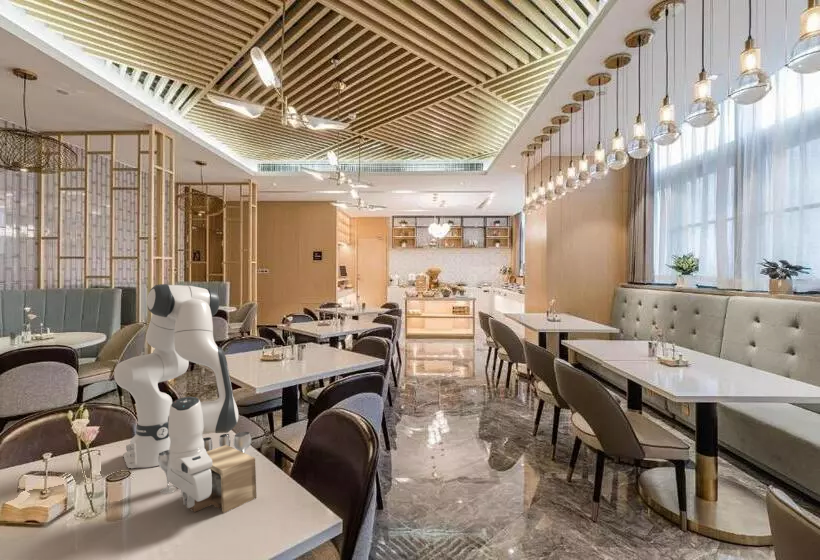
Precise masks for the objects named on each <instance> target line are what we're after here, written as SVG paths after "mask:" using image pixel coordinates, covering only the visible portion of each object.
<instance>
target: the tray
mask: <svg viewBox="0 0 820 560" xmlns="http://www.w3.org/2000/svg"><path fill="white" fill-rule="evenodd" d="M211 474H212V492H211V495H210V497H208V498H206V499H204V500H202V501H199V502H198V501H196V500H194V501H195V505H194V506H193V507H191V508H189V510H190V511H192V512H194V513H196V512H199V511H201V510H203V509H205V507H206V508H207V507H210V506H213V505H214V506H213V507H215V508H216V509H219V510H220V509H222V498H221V475H220V474H218V473H216V472H213V473H211Z"/></svg>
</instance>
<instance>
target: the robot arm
mask: <svg viewBox="0 0 820 560" xmlns="http://www.w3.org/2000/svg"><path fill="white" fill-rule="evenodd" d="M220 303H221V302H220V296H219V293H218V292H217V291H216V290H213V289H211V288H207V287H205V288H203V287H199V286H194V285H188V284H187V285H181V284H167V283H162V284H155V285H154V286H153V287H151V289H150V290H149V292H148V295H147V298H146V305H147V309H148V311H149V312H150V313H151V318H150V321H149V324H148V327H147V330H146V334H145V340H146V342H147V344H148V345H149V346H150V347H152V348H154V351H152V352H151V353H147V354H142V355H138V356H133V357H130V358H128V359H125V360H123V361H120V362H119V363H118V364H117V365H116V366H115V369H114V373H113V378H114V381H115V382H116V384H117V385H118V386H119V387H120V388H121V389H123V390H125V391H127V392H128V393H130V394H131V396H132V397H133V399H134V401H135V406H136V414H137V424H136V426H135V435H134V436H133V437H132V438H131V439H130V440H129V444H126V447H125V448H126V449H125V450H126V452H124V453H123V454H122V457H124V458H123V460H124V462H126V463H125V465H126V467H128V468H131V469H139V468H152V467H157V466H159V462H158V457H159V453H161V452H163V451H166V450H169V460H168V470H167V477H168V481H169V484H172V485H173V487H176V489H177V488H178V489H179V490H180V493H181V496H182V500H183V505H184V506H185V507H186V508H188V509H190V508H191V507H193V506H194V505H195V501H194V500H196V501H198V502H199V501H202V500H204V499H206V498H208V497H210V495H211V492H212V474H211V470H210V467H212V465H213V463H212V459H211V458H210V457H209V455H208V454H207V452H206V449H204V440H203V438H204V436H203V435H207V434H209V435H210V434H229V432H230V431H232V430H233V429H234V428H235V427H236V426H237V424H238V421H239V409H238V406H237V403H236V400H235V397H234V396H235V395H234V392H233V391H234V390H233V387H232V380H231V376H230V372H229V366H228V361H227V357H226V353H225V351H224V349H223V348H222V347H219V346H218V345H217V343H216V341H215V337H214V323H213V317H214V316H215V315H216V314H217V313H218V310H219V308H220ZM190 362H191V363H194V364H196V365H197V364H198V365H201V366H205V367H208V368H209V369H211V370H212V371H213V372H214V375H215V381H216V386H217V392H218V398H217V399H213V400H204V401H201V400H200V399H199V398H198V397H196V396H195V397H194V396H185V397H181V398H180V397H179V398H177V399H176V400H174V401H173V399H172V397H171V396H170V395H169V394H167V393H166V392H162V391H160V388H159V385H158V384H159V383H163V382H166V381H169V380H173V379H176V378H178V377H180V376H182V375H183V374H185V373H186V372H187V370H188V368H189V365H190ZM128 468H127V469H128ZM167 477H166V478H167Z"/></svg>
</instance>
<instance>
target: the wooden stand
mask: <svg viewBox="0 0 820 560" xmlns="http://www.w3.org/2000/svg"><path fill="white" fill-rule="evenodd" d="M207 454H208V455H209V457H210V458H211V459H212V463H213V465H212V467H210V470H211V473H213V472H216V473H218V474H220V475H221V498H222V508H221V513H223V514H225V513H228V512H229V510H230V511H231V509H232V510H234V509H235V508H238V507H240V506H242V504H243V505H244V503H245V504H246V502H247V503H249V502H251V501H253V500H255V499H257V476H256V475H257V471H256V458H255V457H254V456H251V455H249V454H247V453H246V452H245V453H243V452H241V451H239V450H237V449H236V448H235V447H232V446H231V445H230V446H228V445H224V446H222V447H220V446H218V447H216V448H212V450H210V451H207ZM254 498H255V499H254ZM248 501H249V502H248ZM233 508H234V509H233ZM227 511H228V512H227Z"/></svg>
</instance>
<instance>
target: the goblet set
mask: <svg viewBox="0 0 820 560" xmlns="http://www.w3.org/2000/svg"><path fill="white" fill-rule="evenodd" d="M203 440H204V449H206V452H207V451H210V450H213V439H212V437H203ZM232 441H233V443H232V444H233V448H234V449H236V450H239V451H241V452H243V453H245V454H246V451H247V449H249V447H250V445H251V444H252V437H251V434H250V432H249V431H240V432H238V433H235V435H234V437H233V440H232ZM218 445H219V446H218V447H222V446H224V445H228V446H230V447H231V437H230V434H229V433H222V434H220V435H219V438H218ZM168 460H169V450H166V451H163V452H161V453H159V457H158V462H159V465H158V466H159V467H160V469H161V470H162V471H163V472H164V474H165V475H166V484H167V485H166V486H167V487H163V488H162V489H160V492H159V493H160V494H162V495H167V494H170V493H173V492H174V491H175V490H177V487H176V486H174V485H173V486H170V482H169V481H168V477H167V470H168Z"/></svg>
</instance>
